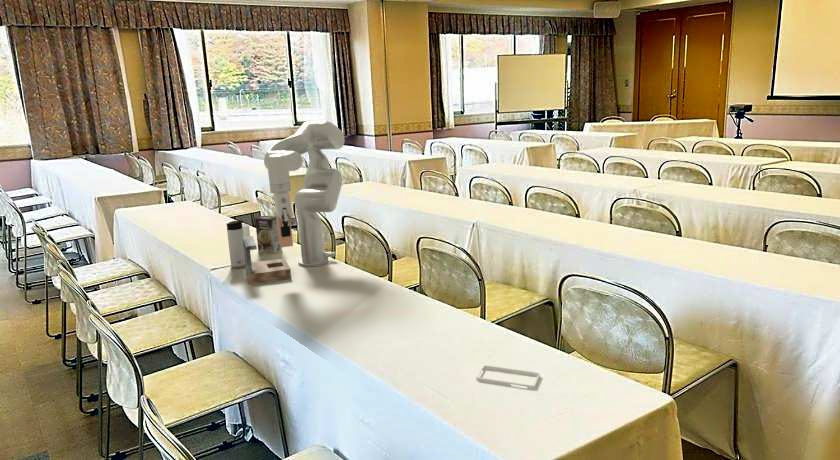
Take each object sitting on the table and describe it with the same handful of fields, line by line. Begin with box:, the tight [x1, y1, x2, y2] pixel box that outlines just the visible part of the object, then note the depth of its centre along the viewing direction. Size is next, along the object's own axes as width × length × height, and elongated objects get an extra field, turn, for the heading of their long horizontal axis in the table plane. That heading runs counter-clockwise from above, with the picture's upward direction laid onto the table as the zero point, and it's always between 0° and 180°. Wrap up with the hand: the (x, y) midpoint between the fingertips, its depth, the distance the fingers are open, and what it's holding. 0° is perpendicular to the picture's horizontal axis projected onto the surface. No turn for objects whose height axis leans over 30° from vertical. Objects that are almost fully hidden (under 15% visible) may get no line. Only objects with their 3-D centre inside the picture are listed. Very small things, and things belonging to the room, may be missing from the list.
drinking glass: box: [242, 223, 251, 237], centre depth 271 cm, size 7×7×15 cm
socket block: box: [242, 235, 292, 285], centre depth 245 cm, size 16×16×15 cm
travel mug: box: [226, 220, 246, 270], centre depth 258 cm, size 6×7×20 cm
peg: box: [275, 213, 294, 249], centre depth 235 cm, size 4×4×12 cm
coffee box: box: [254, 215, 283, 255], centre depth 281 cm, size 9×6×16 cm
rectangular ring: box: [475, 364, 541, 390], centre depth 157 cm, size 7×1×15 cm
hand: (284, 234), depth 235 cm, fingers closed on peg, 4 cm apart
